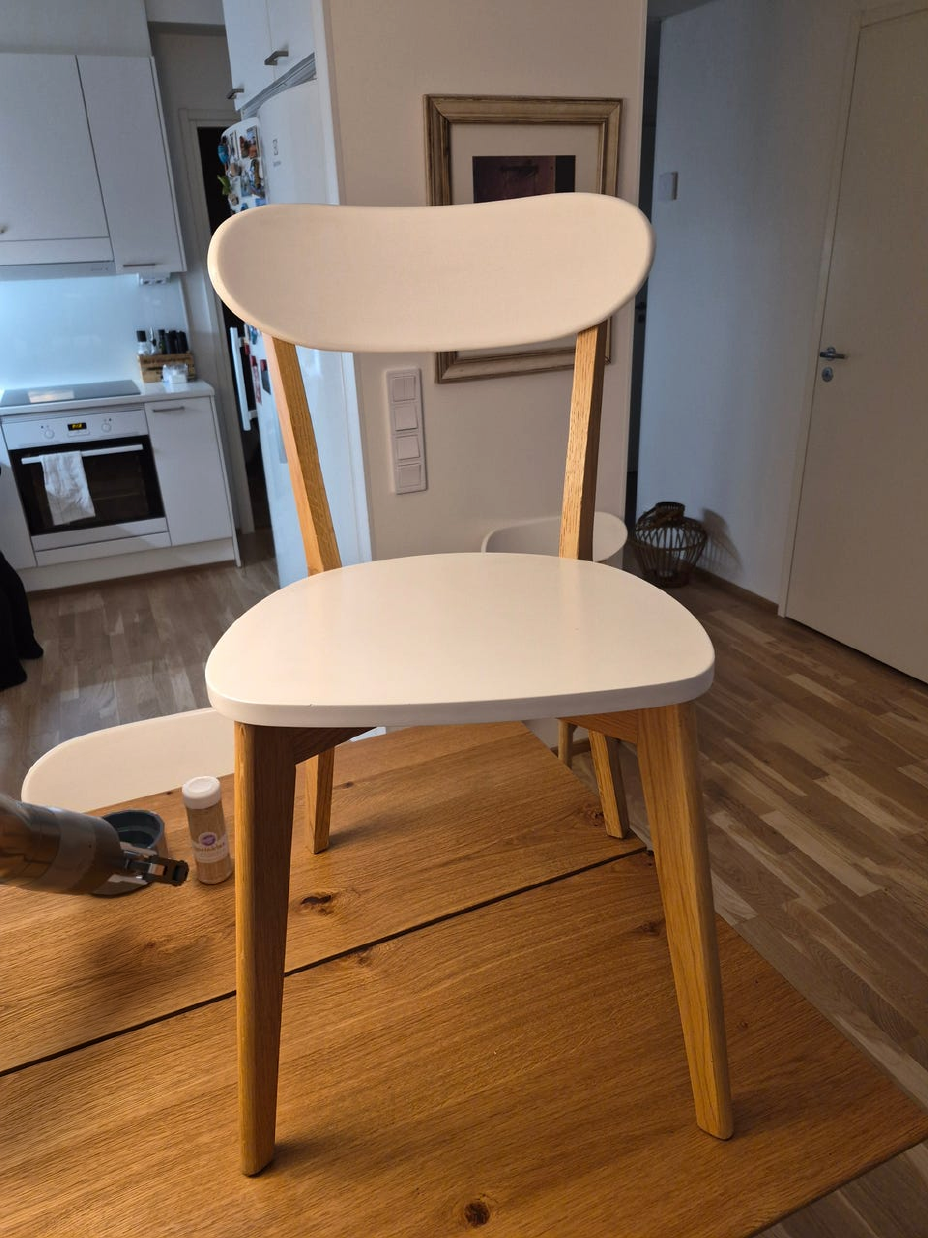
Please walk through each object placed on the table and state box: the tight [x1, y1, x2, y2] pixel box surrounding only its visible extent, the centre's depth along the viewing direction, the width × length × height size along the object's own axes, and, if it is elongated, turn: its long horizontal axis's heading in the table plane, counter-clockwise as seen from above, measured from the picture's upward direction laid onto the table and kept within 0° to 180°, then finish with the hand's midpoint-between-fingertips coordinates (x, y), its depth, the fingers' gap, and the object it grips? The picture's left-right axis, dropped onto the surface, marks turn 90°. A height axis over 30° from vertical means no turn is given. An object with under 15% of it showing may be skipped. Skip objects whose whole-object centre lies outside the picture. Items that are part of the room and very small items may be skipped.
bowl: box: [91, 808, 171, 896], centre depth 105 cm, size 11×11×5 cm
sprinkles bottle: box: [181, 775, 234, 885], centre depth 102 cm, size 5×5×13 cm
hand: (150, 867), depth 92 cm, fingers open, 8 cm apart
